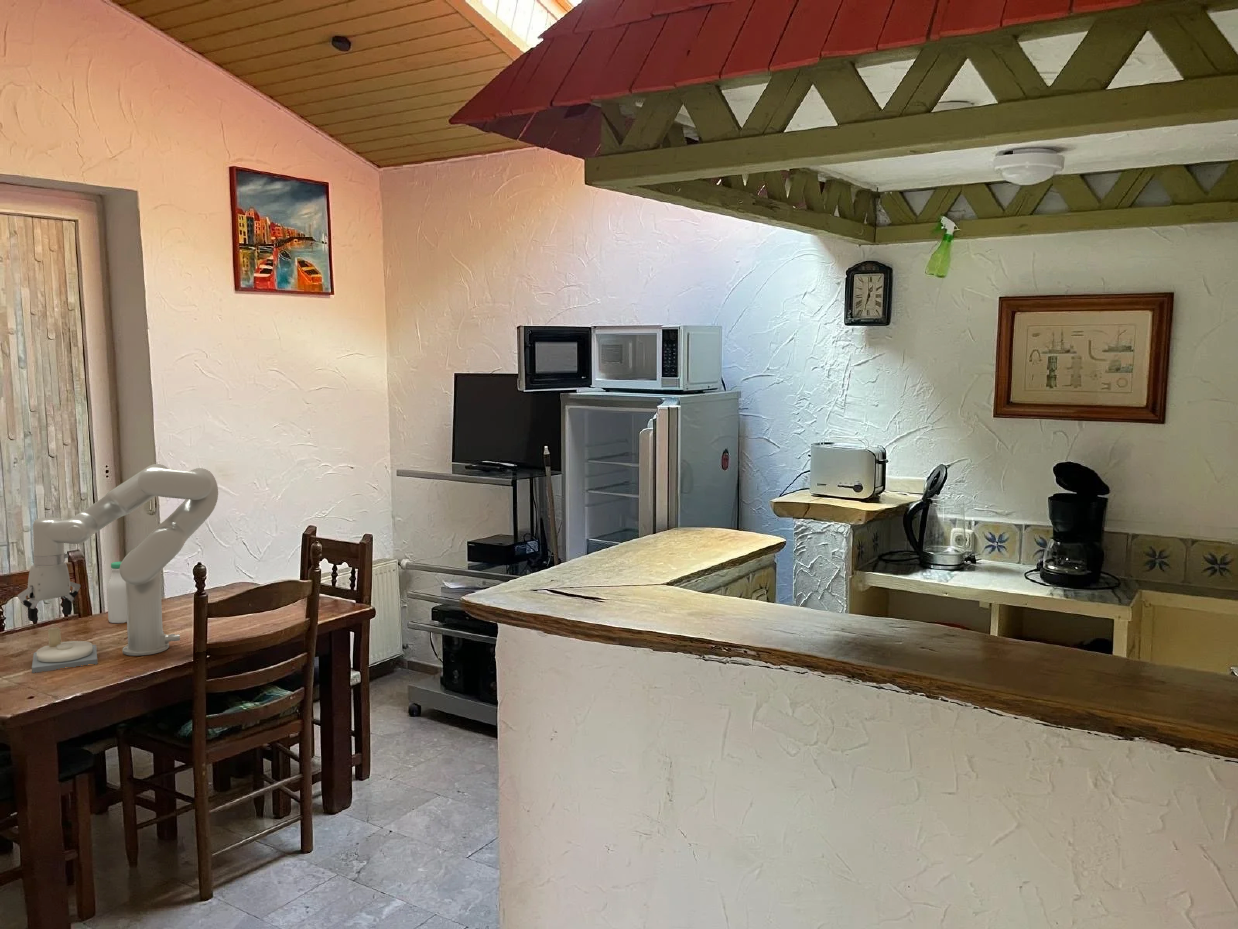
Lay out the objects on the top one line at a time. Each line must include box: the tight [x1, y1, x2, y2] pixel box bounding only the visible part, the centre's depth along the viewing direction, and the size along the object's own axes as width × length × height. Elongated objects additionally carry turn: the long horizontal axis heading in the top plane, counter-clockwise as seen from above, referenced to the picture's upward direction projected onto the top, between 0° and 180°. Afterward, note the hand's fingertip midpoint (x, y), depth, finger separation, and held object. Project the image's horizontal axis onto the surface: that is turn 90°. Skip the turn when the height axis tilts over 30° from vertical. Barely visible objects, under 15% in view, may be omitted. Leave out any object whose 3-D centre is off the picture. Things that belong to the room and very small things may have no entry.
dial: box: [36, 627, 93, 662], centre depth 267 cm, size 14×14×7 cm
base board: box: [31, 644, 99, 674], centre depth 268 cm, size 16×16×2 cm
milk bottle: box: [106, 561, 127, 624], centre depth 309 cm, size 8×8×20 cm
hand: (50, 617), depth 269 cm, fingers open, 9 cm apart
